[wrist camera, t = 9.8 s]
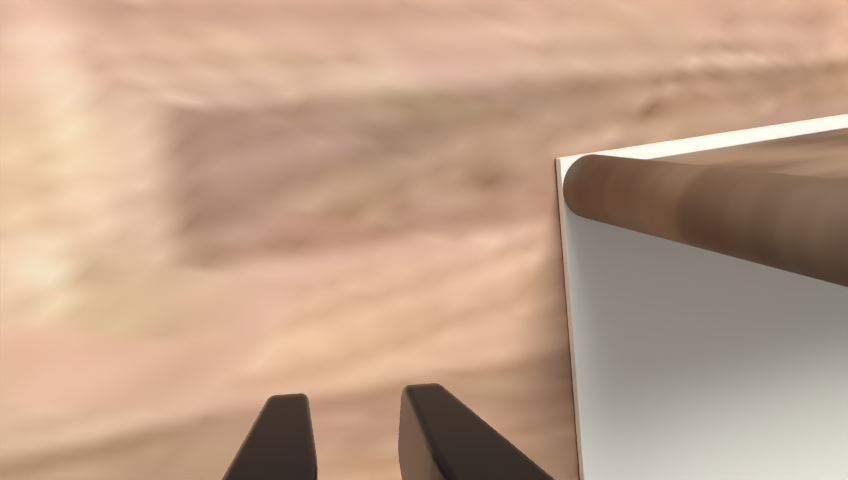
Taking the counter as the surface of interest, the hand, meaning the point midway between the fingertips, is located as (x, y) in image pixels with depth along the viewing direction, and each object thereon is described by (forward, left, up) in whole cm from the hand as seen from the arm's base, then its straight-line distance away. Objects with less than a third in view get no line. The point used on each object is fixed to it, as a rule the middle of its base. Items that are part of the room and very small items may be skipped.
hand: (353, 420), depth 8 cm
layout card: (+7, -19, -13) cm, 24 cm away
